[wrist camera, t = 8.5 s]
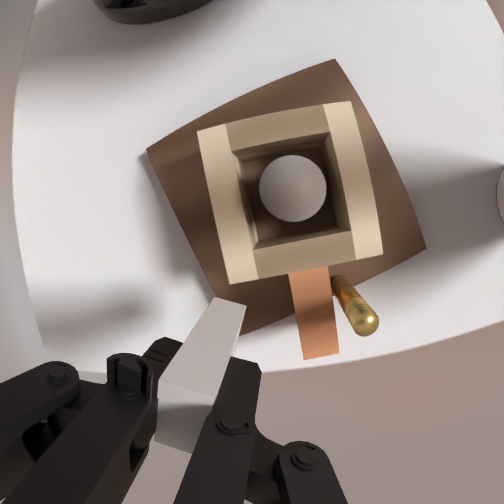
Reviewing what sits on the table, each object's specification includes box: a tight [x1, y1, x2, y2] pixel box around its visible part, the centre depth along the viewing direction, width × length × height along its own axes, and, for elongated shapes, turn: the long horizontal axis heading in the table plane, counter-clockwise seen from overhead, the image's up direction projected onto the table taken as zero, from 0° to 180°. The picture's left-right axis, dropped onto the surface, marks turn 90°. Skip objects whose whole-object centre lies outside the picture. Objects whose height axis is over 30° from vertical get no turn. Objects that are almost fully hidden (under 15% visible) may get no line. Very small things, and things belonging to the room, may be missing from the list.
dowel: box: [330, 275, 379, 336], centre depth 15 cm, size 1×1×7 cm
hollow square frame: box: [197, 101, 383, 360], centre depth 16 cm, size 13×8×4 cm, turn 12°
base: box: [146, 59, 427, 336], centre depth 16 cm, size 14×14×6 cm
